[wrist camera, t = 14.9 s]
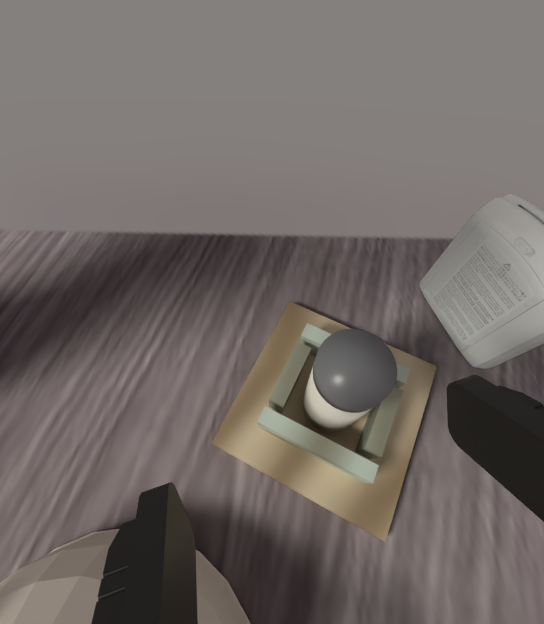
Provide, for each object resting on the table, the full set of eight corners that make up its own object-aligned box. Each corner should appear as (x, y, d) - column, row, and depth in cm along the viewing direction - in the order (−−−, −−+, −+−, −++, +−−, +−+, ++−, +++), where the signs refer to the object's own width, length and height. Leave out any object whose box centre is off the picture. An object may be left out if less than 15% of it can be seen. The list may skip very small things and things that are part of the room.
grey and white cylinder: (293, 415, 27) (302, 382, 18) (316, 368, 28) (334, 316, 19) (344, 443, 26) (381, 422, 17) (365, 392, 27) (407, 349, 18)
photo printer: (512, 361, 30) (655, 291, 19) (472, 377, 29) (596, 315, 18) (446, 270, 34) (531, 170, 23) (410, 283, 33) (479, 186, 22)
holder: (213, 444, 27) (204, 439, 23) (288, 306, 32) (291, 284, 29) (381, 539, 24) (400, 550, 20) (432, 369, 29) (454, 354, 26)
